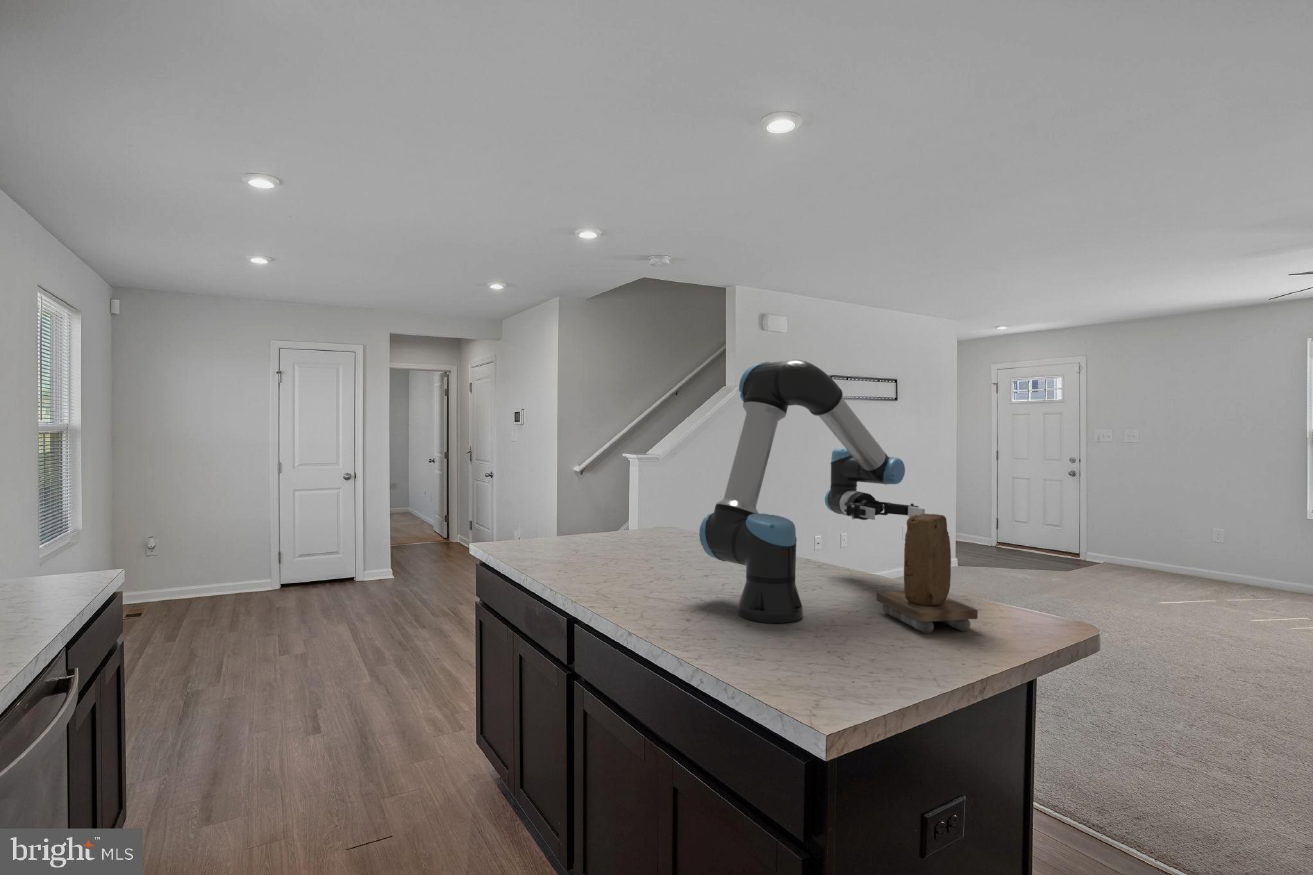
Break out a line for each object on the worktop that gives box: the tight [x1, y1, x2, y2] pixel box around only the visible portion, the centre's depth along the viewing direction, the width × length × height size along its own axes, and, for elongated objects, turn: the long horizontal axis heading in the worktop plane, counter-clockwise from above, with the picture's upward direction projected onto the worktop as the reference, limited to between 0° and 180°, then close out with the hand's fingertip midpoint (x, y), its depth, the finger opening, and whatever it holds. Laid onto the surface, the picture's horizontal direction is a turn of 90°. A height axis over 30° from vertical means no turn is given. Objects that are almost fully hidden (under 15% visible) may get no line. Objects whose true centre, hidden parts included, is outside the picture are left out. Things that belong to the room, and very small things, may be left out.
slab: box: [876, 590, 979, 635], centre depth 155 cm, size 14×18×5 cm
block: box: [903, 513, 952, 606], centre depth 154 cm, size 11×8×20 cm
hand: (898, 514), depth 168 cm, fingers open, 13 cm apart
